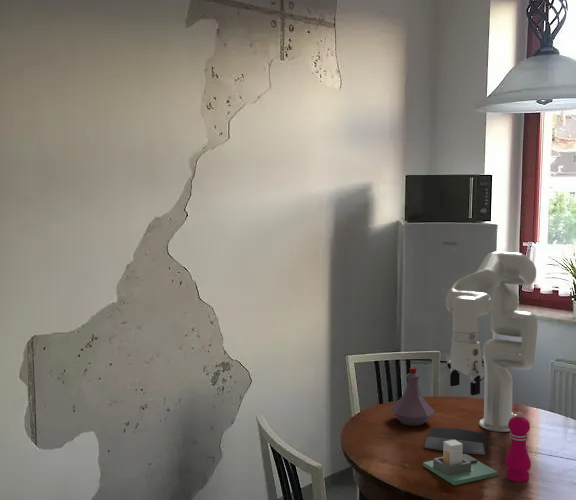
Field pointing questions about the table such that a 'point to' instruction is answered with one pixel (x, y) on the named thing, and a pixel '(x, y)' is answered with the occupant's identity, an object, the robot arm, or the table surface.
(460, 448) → the plug
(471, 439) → the external hard drive
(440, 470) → the board
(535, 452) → the table surface
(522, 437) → the pepper mill
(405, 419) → the flask
